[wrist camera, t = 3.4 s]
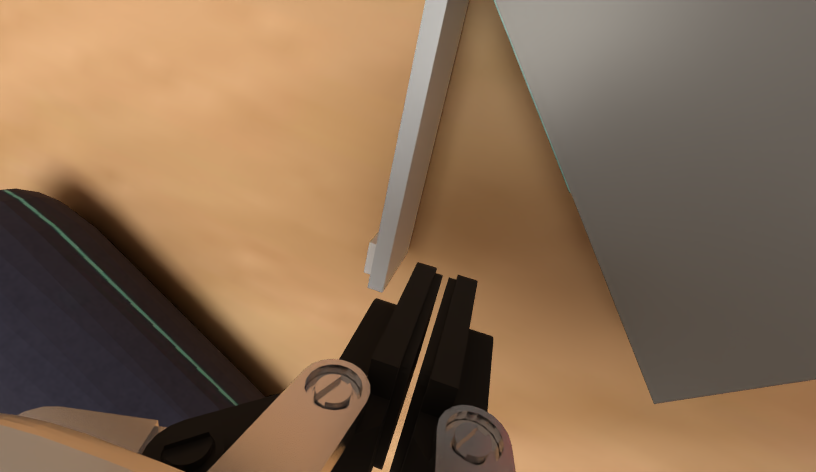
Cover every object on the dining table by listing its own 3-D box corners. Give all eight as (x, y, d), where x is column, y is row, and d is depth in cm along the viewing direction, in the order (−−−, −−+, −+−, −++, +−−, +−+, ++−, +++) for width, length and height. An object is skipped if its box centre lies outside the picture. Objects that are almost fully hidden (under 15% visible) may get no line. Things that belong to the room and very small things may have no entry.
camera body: (909, 266, 16) (1074, 357, 11) (604, 334, 21) (627, 420, 16) (807, -307, 12) (1013, -578, 7) (444, -56, 16) (406, -106, 11)
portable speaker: (25, 238, 31) (-181, 311, 22) (71, 153, 26) (-165, 202, 17) (260, 464, 34) (164, 608, 25) (336, 424, 29) (253, 582, 20)
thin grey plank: (407, 252, 22) (382, 292, 18) (385, 245, 22) (356, 283, 18) (470, -4, 16) (452, -23, 13) (440, -11, 17) (414, -31, 13)
